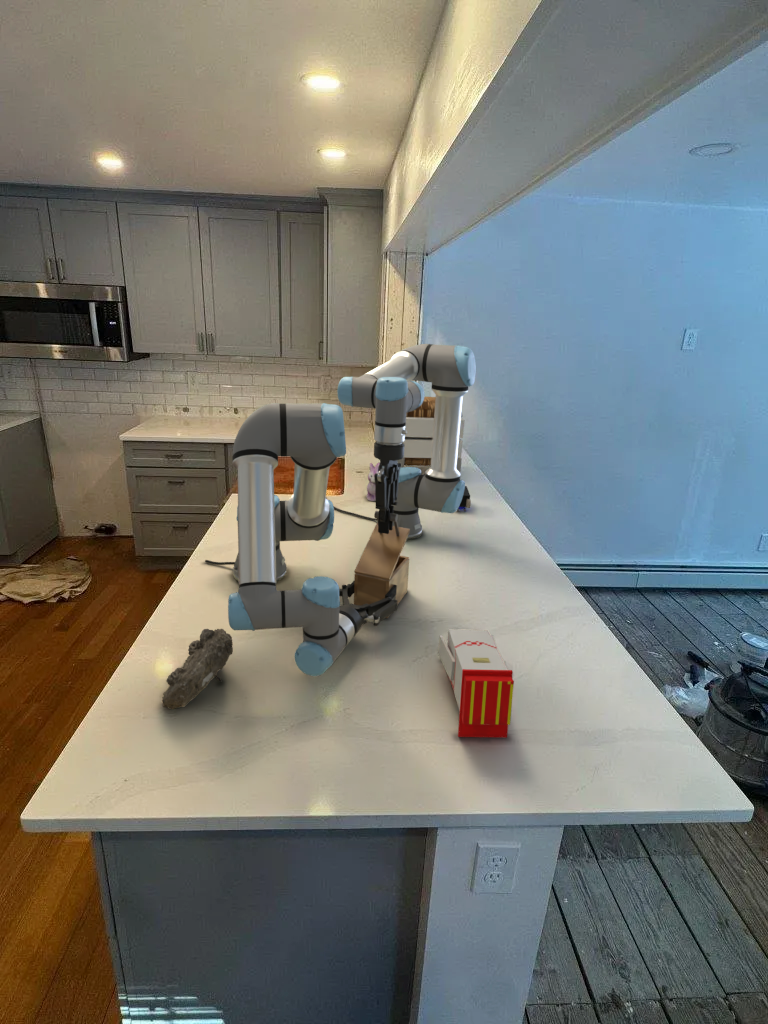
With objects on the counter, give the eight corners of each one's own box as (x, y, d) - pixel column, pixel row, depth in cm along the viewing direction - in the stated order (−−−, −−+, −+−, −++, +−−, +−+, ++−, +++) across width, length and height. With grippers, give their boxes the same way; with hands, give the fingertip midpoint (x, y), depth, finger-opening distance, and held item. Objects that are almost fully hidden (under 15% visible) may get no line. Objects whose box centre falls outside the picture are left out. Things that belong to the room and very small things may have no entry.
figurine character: (470, 516, 223) (465, 500, 237) (473, 499, 220) (467, 484, 233) (453, 516, 223) (449, 500, 236) (455, 498, 220) (451, 483, 233)
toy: (488, 613, 130) (523, 677, 101) (484, 667, 133) (517, 744, 104) (435, 612, 130) (455, 676, 101) (432, 666, 133) (451, 743, 103)
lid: (377, 525, 155) (372, 502, 149) (410, 531, 152) (406, 508, 146) (354, 573, 145) (348, 551, 138) (389, 580, 142) (385, 558, 135)
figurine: (371, 503, 230) (372, 467, 224) (360, 495, 238) (361, 460, 233) (391, 500, 234) (393, 465, 229) (380, 493, 242) (381, 459, 237)
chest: (376, 585, 162) (377, 550, 159) (407, 591, 159) (409, 557, 156) (353, 610, 148) (354, 574, 144) (387, 618, 145) (389, 581, 141)
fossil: (186, 631, 128) (233, 600, 123) (216, 659, 131) (263, 630, 126) (139, 703, 108) (193, 670, 103) (175, 734, 111) (229, 704, 106)
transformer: (382, 463, 289) (386, 382, 275) (445, 464, 293) (451, 384, 279) (390, 482, 257) (394, 392, 243) (460, 483, 261) (468, 394, 247)
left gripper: (297, 630, 133) (338, 589, 153) (385, 652, 126) (416, 607, 146) (297, 601, 130) (338, 564, 150) (387, 623, 123) (418, 581, 143)
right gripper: (393, 450, 131) (388, 543, 139) (413, 437, 145) (408, 523, 153) (363, 446, 134) (360, 538, 142) (385, 434, 147) (382, 519, 155)
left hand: (376, 585), depth 148 cm, fingers closed on chest, 9 cm apart
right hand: (385, 530), depth 147 cm, fingers closed on lid, 2 cm apart
